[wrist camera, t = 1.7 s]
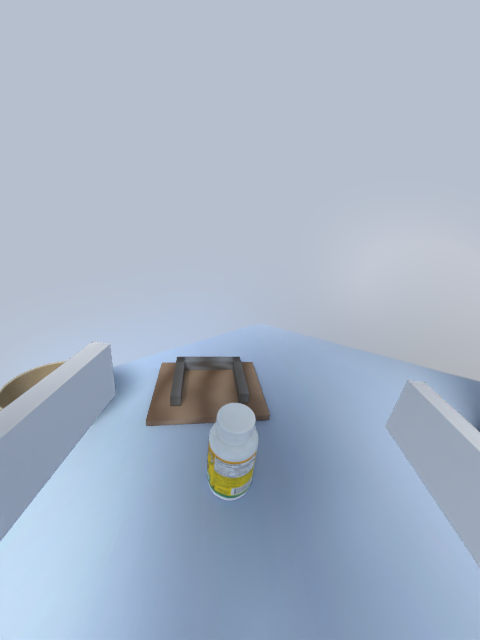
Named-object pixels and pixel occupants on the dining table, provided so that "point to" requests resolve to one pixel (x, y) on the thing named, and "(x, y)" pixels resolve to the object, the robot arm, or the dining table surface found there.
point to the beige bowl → (25, 383)
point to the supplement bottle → (232, 451)
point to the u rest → (204, 390)
